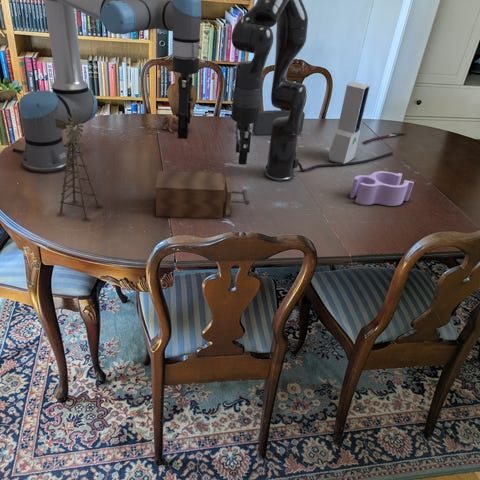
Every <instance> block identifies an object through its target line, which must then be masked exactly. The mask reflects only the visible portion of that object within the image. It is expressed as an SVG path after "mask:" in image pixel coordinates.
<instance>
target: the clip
mask: <svg viewBox="0 0 480 480" xmlns="http://www.w3.org/2000/svg"><path fill="white" fill-rule="evenodd" d="M402 178H403V173H402V172H398V173H396V172H392V171H385V170H377V171H374V172H372V173H371V174H368V175H367V174H359V175H355V177H353V182H352V186H351V191H350V194H349V198H350V199H354V198H355V197H356V198H355V203H356V204H358V205H362V206H363V205H364V206H369V205H370V206H371V205H373V204H377V205H383V206H387V207H388V206H389V207H396V206H400V205H402V204H403V202H404V201H405V202H409V199H410V196H411V193H412V191H413V190H412V189H413V186H414V184H415V182H414V181H412V180H408V179H403V183H402V184H401V181H402Z"/></svg>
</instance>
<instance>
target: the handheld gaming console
mask: <svg viewBox="0 0 480 480" xmlns="http://www.w3.org/2000/svg"><path fill="white" fill-rule="evenodd" d="M289 114H290V111H286V110H282V109H279V110H273V109H272V110H259V116H258V121H257V122H255V123H252V132H253V134H254V135H259V136H264V135H265V136H266V135H271V131H272V123H273V121H274V120H275V119H277V118H281V117H288V116H289ZM305 115H306V114H305V112H304V111H303V113H302V118H301V123H300V126H299V132H298V134H301V133H302V132H303V128H304V122H305V121H304V120H305Z"/></svg>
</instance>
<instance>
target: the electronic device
mask: <svg viewBox="0 0 480 480" xmlns="http://www.w3.org/2000/svg"><path fill="white" fill-rule="evenodd" d="M370 88H371V85H370V84H367V83H362V82H358V81H353V80H350V81H349V82H348V83H347V84H346V87H345V92H344V97H343V101H342V107H341V110H340V111H341V112H340V115H339V121H338V125H337V130H336V132H335V134H334V137H333V139H332V143H331V146H330V148H329V151H328V158H329V161H330V162H333V163H335V164H336V163H343V164H345V163H348V162H351V161H352V160H353V159H354V158H355V157H356V153H357V147H358V143H359V138H360V135H361V125H362V122H363V119H364V113H365V109H366V106H367V101H368V97H369V93H370Z"/></svg>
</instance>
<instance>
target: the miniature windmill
mask: <svg viewBox="0 0 480 480" xmlns="http://www.w3.org/2000/svg"><path fill="white" fill-rule="evenodd" d="M78 112H79V109H78ZM70 113H71V111H70ZM80 114H81V112H80ZM80 114H79V116H80ZM71 116H72V113H71ZM73 116H75V118H74V120H73ZM73 116H72V118H70V116H69V114H68V117H69V119H70V121H71V122H72V123H74V122H76V121H78V119H79V117H78V119H77V118H76V116H78V113H77V115H76V111H75V115H74V109H73ZM82 117H83V115H82V116H81V118H82ZM81 118H80V119H79V121H80V120H81ZM72 120H73V121H72ZM55 121H56V127H59V128H65V127H66V129H65V133H66V138H67V140H68V141H67V142H66V143H64V145H63V146H64V147H66V148H67V151H68V153H67V154H66V155H67V161H66V168H65V169H63V170H64V177H63V184H62V192H61V193H60V195H61V200H60V201H59V204H60V208H59V215H63V211H64V205H68V206H73V207H79V208H82V210H83V216H84V220H88V214H87V207H88V206H89V205H90V204H91V203H92V202H93V201H95V204H96V207H98V208H99V207H100V203H99V200H98V194H96V192H95V191H96V190H95V188H94V185H93V183H92V179H91V176H90V174H89V172H88V168H87V165H86V162H85V159H84V157H83V151H81V148H82V147H84V146H85V145H86V143H84V141H83V142H81V141H80V140H81V137H82V136H83V135H82V133H83V132H84V130H83V129H82V128H84V125H85V124H84V123H83V120H82V121H81V122H79V121H78V122H79V123H78V122H76V123H77V125H76V126H75V125H74V124H72V123H71V122H70V121H68V120H67V122H68V123H69V124H68V125H67V123H66V122H64V121H61V120H58V119H55ZM81 123H83V124H81ZM68 127H69V128H68ZM74 128H75V129H74ZM79 141H80V142H79ZM69 157H70V159H69ZM79 157H80V160H81V163H82V164H79V162H78V158H79ZM70 160H71V164H70V165H69V166H68V164H69V161H70ZM80 167H82V168H81V169H80ZM75 168H76V170H75ZM79 169H80V170H79ZM83 171H84V172H85V175H86V178H84V177H81V173H82V172H83ZM75 174H77V176H76V175H75ZM70 176H72V178H70V179H69V180H67V178H68V177H70ZM76 179H77V180H78V186H76ZM82 180H83V181H87V182H86V183H85V184H84V185H82ZM71 182H72V184H71V185H68V184H69V183H71ZM88 185H89V186H90V190H91V192H92V193H88V192H84V191H83V189H84V188H85V187H87V186H88ZM71 188H72V191H71V192H70V193H68V194H67V195H65V194H66V192H67V191H68V190H70V189H71ZM77 190H79V191H77ZM76 194H80V198H81V204H82V205H81V204H76ZM71 195H72V203H71V202H65V200H66V199H67V198H69V197H70V196H71ZM84 195H85V196H92V198H91V200H89V201H88V202H87V203H85V197H84Z"/></svg>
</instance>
